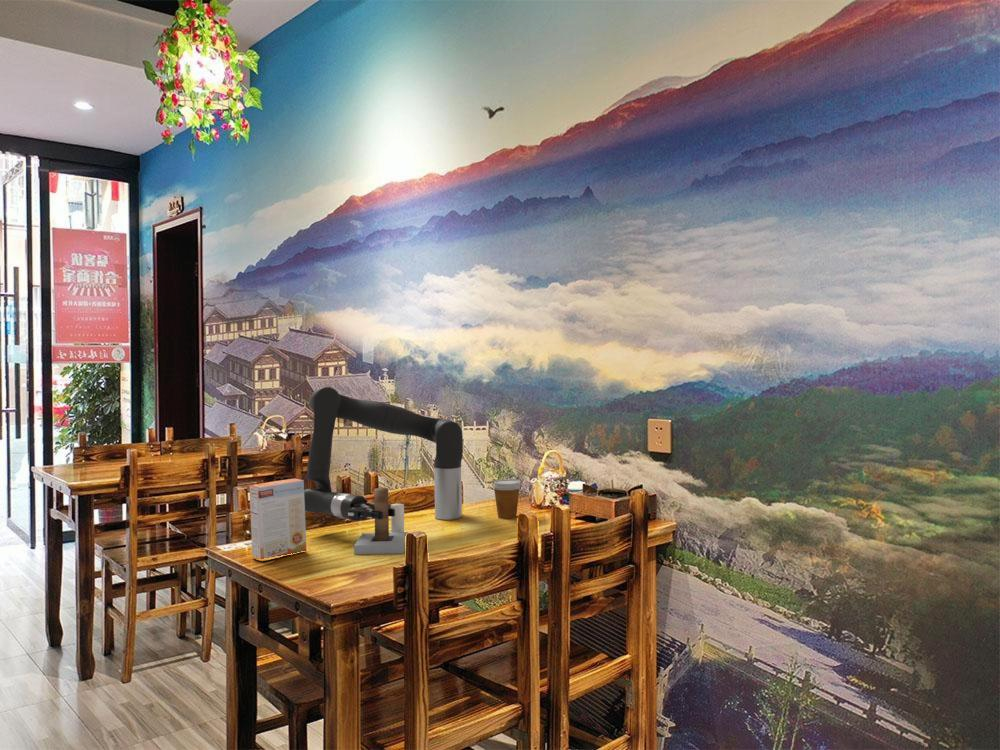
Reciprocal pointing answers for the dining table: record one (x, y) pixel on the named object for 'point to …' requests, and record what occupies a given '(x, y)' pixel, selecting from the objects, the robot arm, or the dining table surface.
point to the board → (380, 544)
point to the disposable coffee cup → (506, 497)
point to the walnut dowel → (382, 505)
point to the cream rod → (397, 518)
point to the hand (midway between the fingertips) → (388, 514)
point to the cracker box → (277, 518)
